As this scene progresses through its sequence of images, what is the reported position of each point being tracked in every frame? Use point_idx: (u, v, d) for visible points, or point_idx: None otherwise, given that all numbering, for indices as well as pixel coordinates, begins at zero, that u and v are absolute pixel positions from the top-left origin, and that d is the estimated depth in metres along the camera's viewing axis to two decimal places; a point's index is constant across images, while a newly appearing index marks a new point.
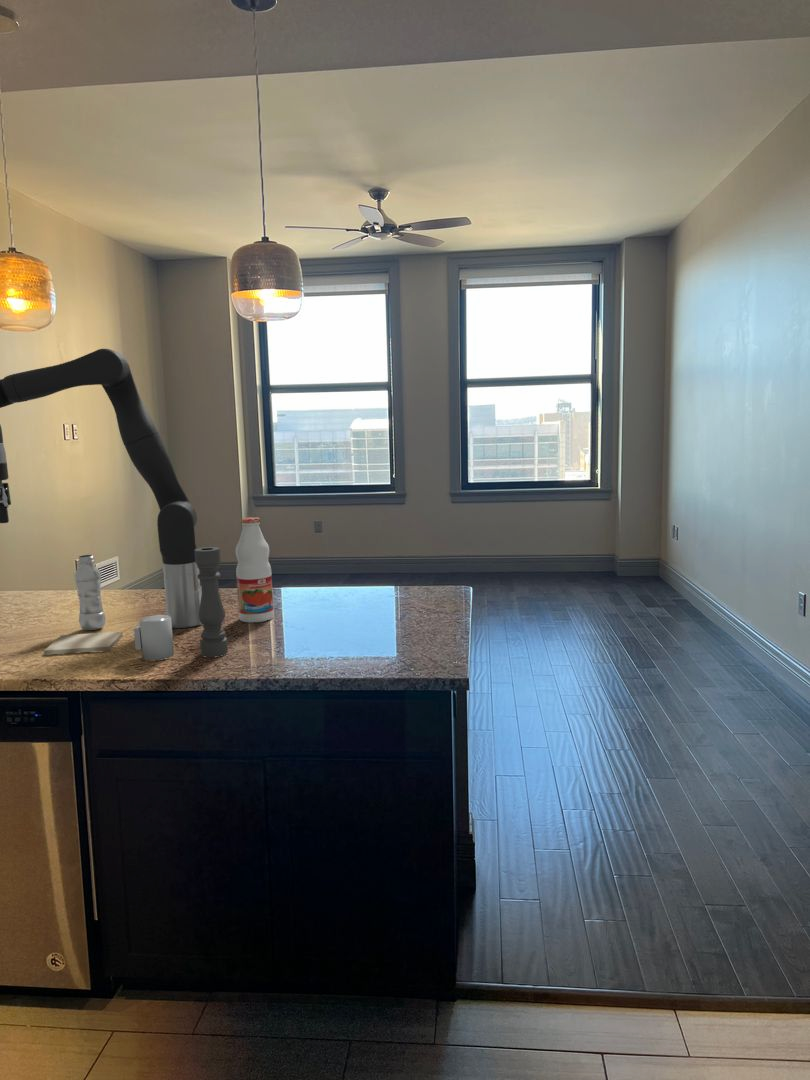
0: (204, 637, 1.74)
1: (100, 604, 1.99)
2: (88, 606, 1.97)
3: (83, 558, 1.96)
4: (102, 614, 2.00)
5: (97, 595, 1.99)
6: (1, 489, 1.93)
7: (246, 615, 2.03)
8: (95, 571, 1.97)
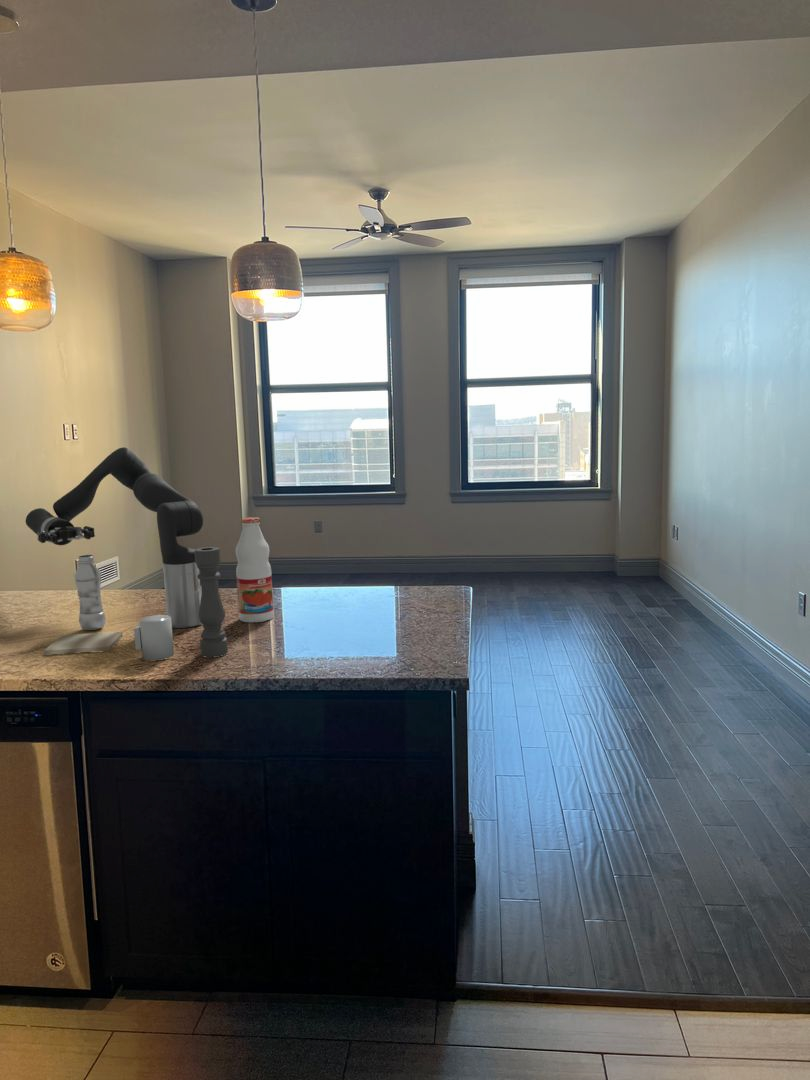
0: (204, 637, 1.74)
1: (100, 604, 1.99)
2: (88, 606, 1.97)
3: (83, 558, 1.96)
4: (102, 614, 2.00)
5: (97, 595, 1.99)
6: (66, 527, 2.13)
7: (246, 615, 2.03)
8: (95, 571, 1.97)
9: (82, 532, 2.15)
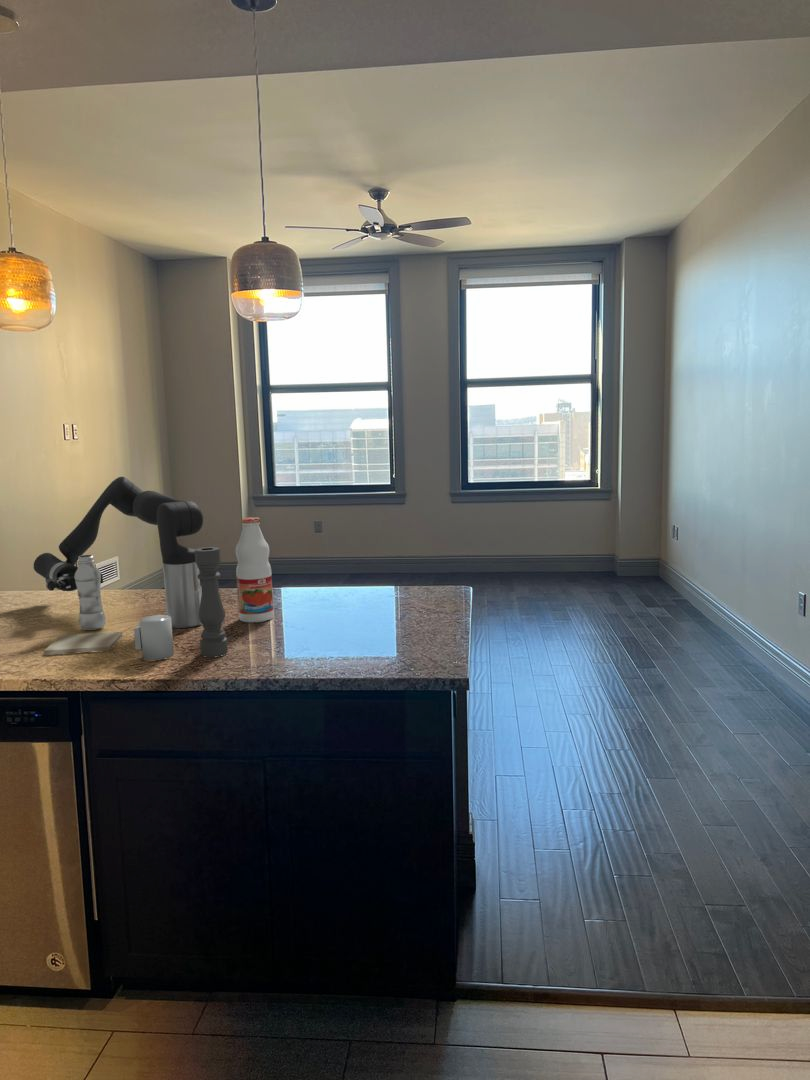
0: (204, 637, 1.74)
1: (100, 604, 1.99)
2: (88, 606, 1.97)
3: (83, 558, 1.96)
4: (102, 614, 2.00)
5: (97, 595, 1.99)
6: (74, 573, 2.12)
7: (246, 615, 2.03)
8: (95, 571, 1.97)
9: None
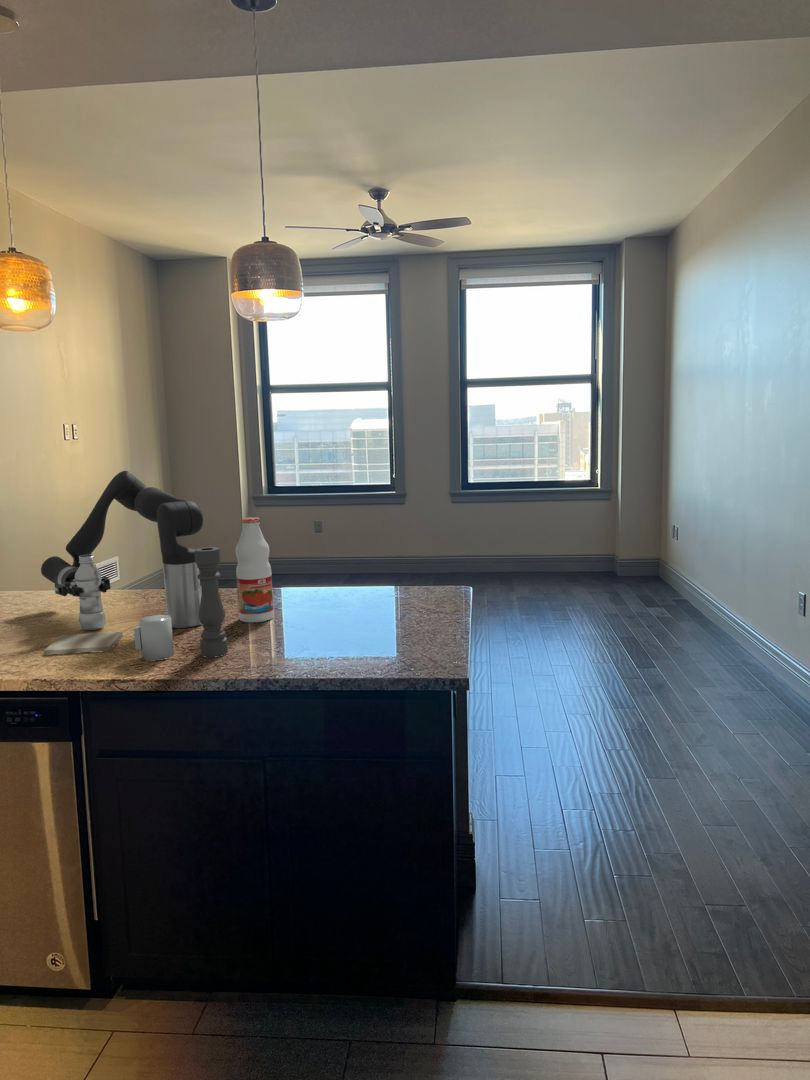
0: (204, 637, 1.74)
1: (100, 604, 1.99)
2: (88, 605, 1.97)
3: (83, 558, 1.96)
4: (102, 614, 2.00)
5: (98, 595, 1.99)
6: None
7: (246, 615, 2.03)
8: (95, 571, 1.97)
9: None
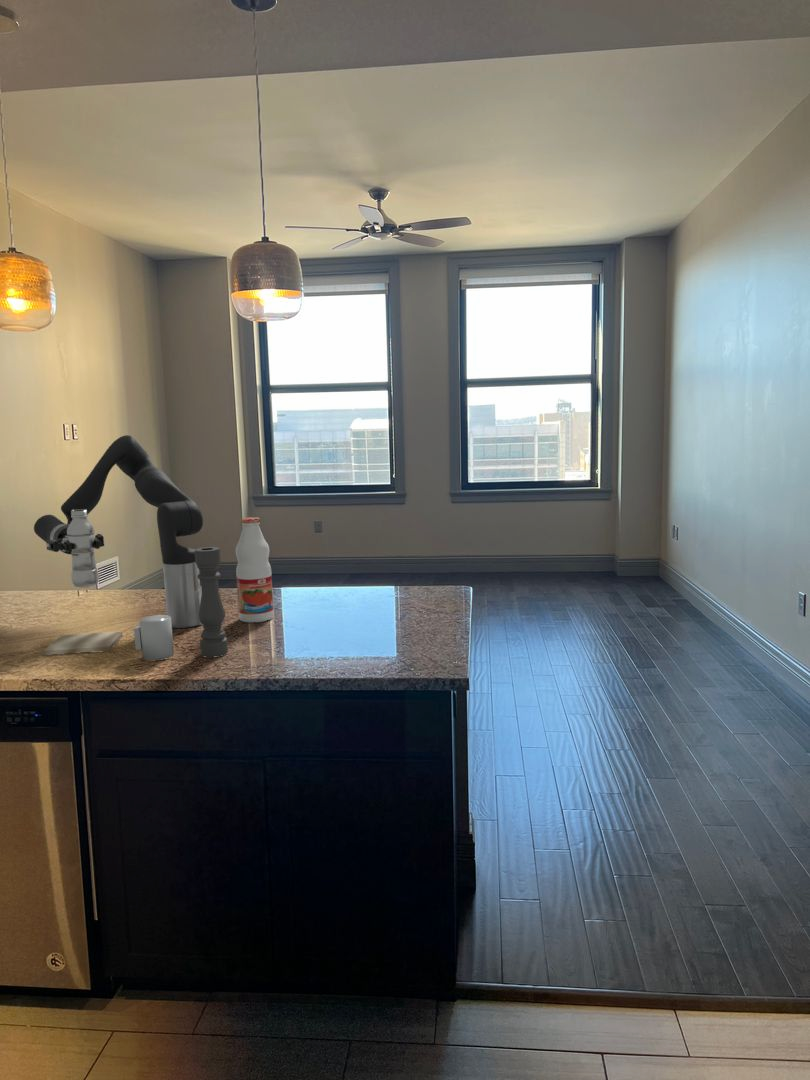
0: (204, 637, 1.74)
1: (93, 561, 1.92)
2: (81, 562, 1.90)
3: (76, 512, 1.89)
4: (95, 571, 1.92)
5: (90, 551, 1.91)
6: None
7: (246, 615, 2.03)
8: (88, 526, 1.90)
9: None
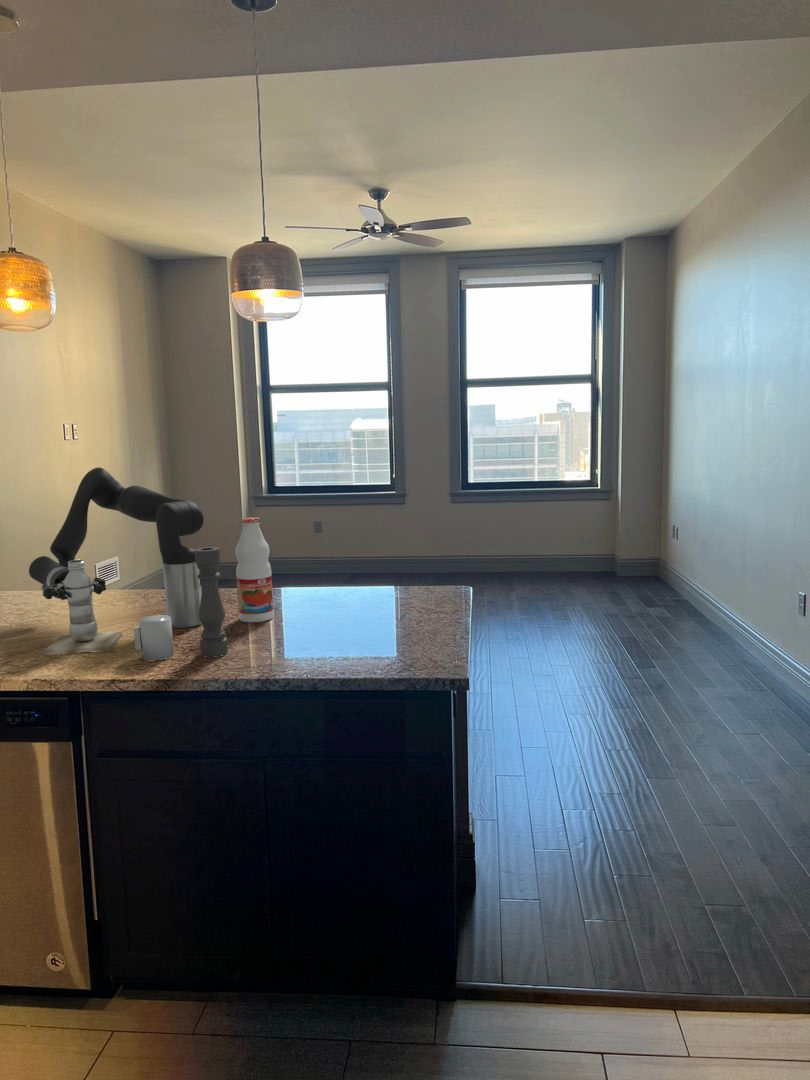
0: (204, 637, 1.74)
1: (92, 613, 1.85)
2: (79, 615, 1.83)
3: (73, 564, 1.81)
4: (94, 624, 1.85)
5: (89, 604, 1.84)
6: None
7: (246, 615, 2.03)
8: (85, 577, 1.83)
9: (92, 584, 1.93)
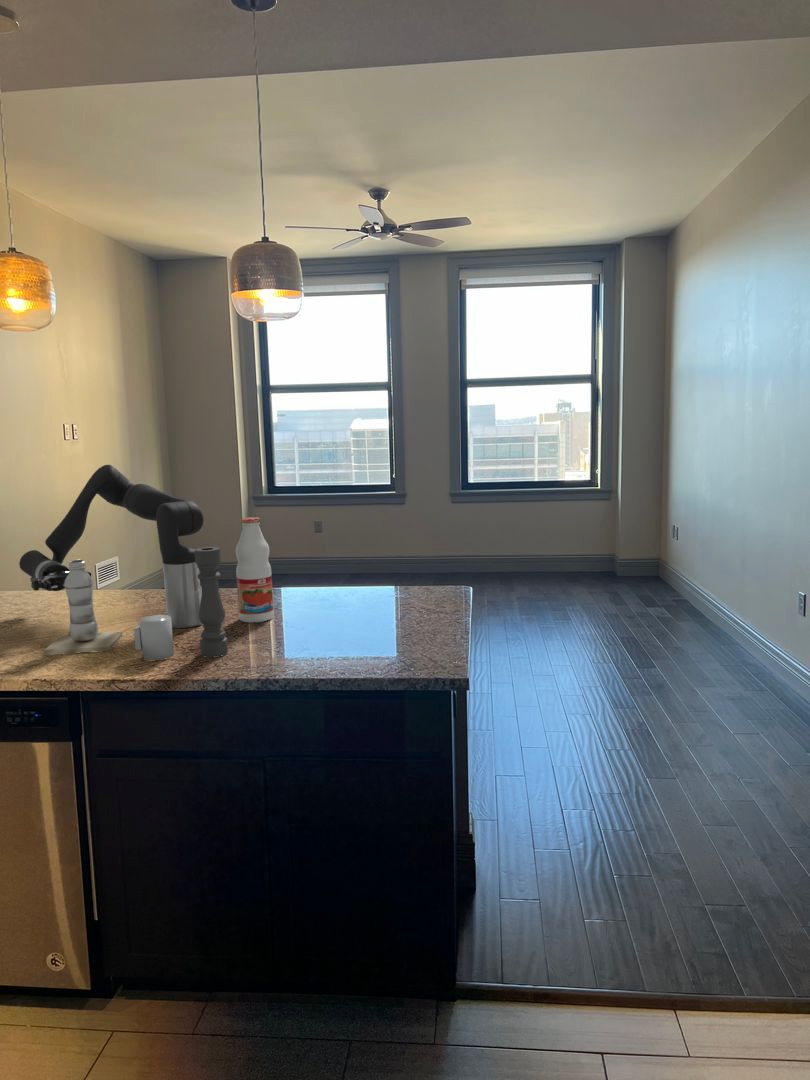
0: (204, 637, 1.74)
1: (92, 613, 1.85)
2: (79, 615, 1.83)
3: (74, 564, 1.82)
4: (94, 624, 1.85)
5: (89, 604, 1.84)
6: (61, 572, 2.00)
7: (246, 615, 2.03)
8: (86, 577, 1.83)
9: None
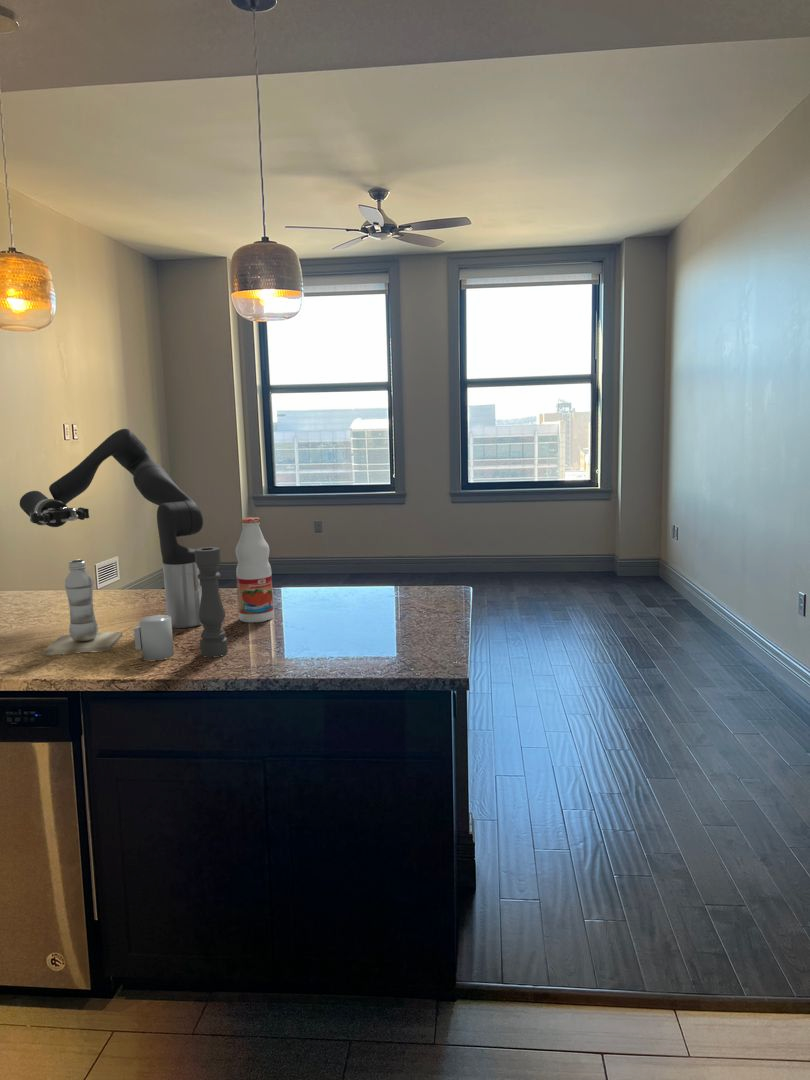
0: (204, 637, 1.74)
1: (92, 613, 1.85)
2: (79, 615, 1.83)
3: (74, 564, 1.82)
4: (94, 624, 1.85)
5: (89, 604, 1.84)
6: (59, 508, 2.06)
7: (246, 615, 2.03)
8: (86, 577, 1.83)
9: (76, 513, 2.09)
